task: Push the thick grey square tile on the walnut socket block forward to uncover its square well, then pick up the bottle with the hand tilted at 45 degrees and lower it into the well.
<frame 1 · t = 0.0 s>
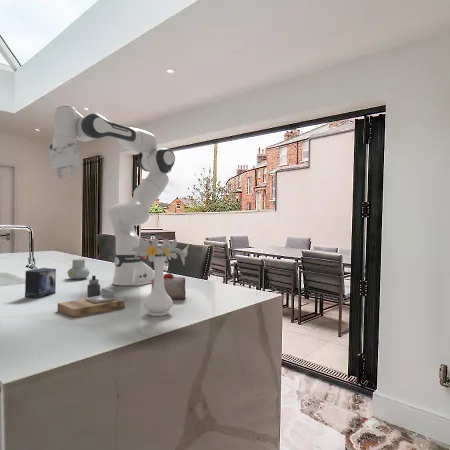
hand: (64, 178, 152), 48 cm above the table, tool pointing down, fingers open, 8 cm apart
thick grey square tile: (100, 295, 126), point 4 cm above the table, slide at 0.0 cm
small box: (40, 296, 146), on the table
bottle: (93, 300, 137), on the table
air freshener: (78, 279, 188), on the table
flower vase: (160, 314, 120), on the table
socket: (94, 308, 125), on the table
food item: (168, 298, 144), on the table
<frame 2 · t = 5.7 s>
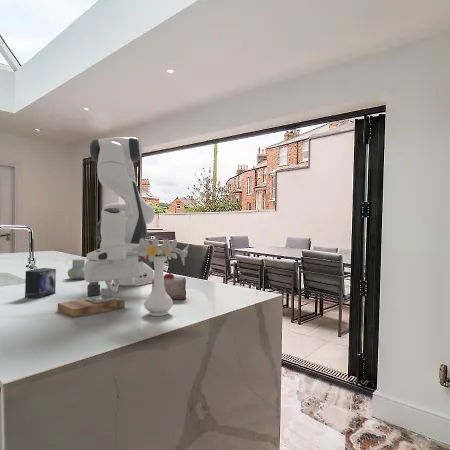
hand: (113, 292, 130), 5 cm above the table, tool pointing down, fingers closed
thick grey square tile: (99, 295, 126), point 4 cm above the table, slide at 0.1 cm, touching gripper
everything else where it was.
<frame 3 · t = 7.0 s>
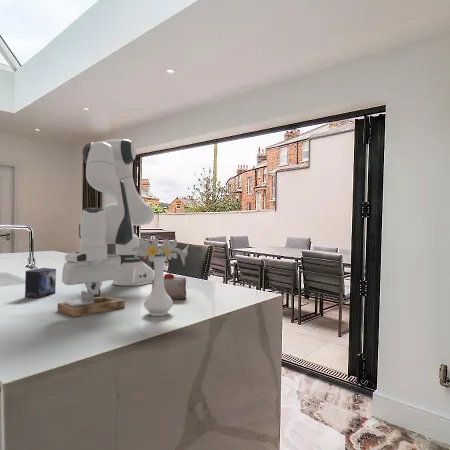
hand: (93, 295, 124), 5 cm above the table, tool pointing down, fingers closed
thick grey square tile: (79, 298, 121), point 4 cm above the table, slide at 7.5 cm, touching gripper
everything else where it was.
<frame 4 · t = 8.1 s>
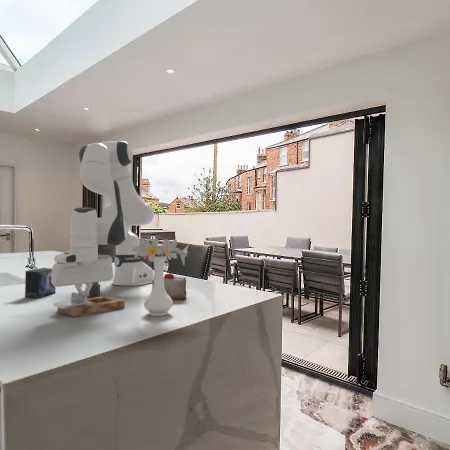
hand: (83, 296, 122), 5 cm above the table, tool pointing down, fingers closed
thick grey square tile: (68, 300, 118), point 4 cm above the table, slide at 10.9 cm, touching gripper
everything else where it was.
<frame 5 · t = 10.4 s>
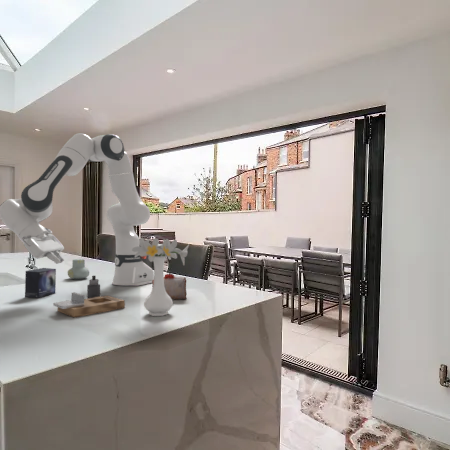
hand: (60, 262, 137), 15 cm above the table, tool tilted 45°, fingers closed
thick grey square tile: (68, 300, 118), point 4 cm above the table, slide at 10.9 cm
everything else where it was.
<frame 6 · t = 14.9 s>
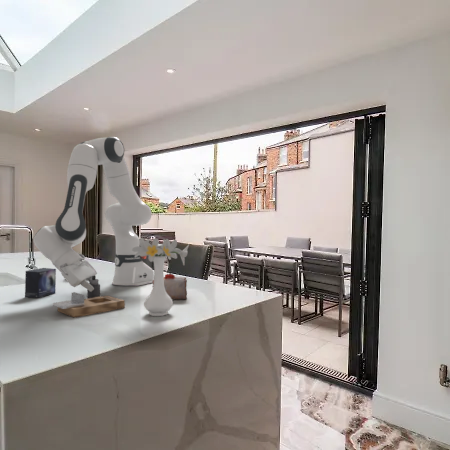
hand: (95, 288, 137), 5 cm above the table, tool tilted 45°, fingers closed on bottle, 4 cm apart
bottle: (93, 300, 137), on the table, touching gripper
everything else where it was.
when the fingers open (7 cm above the table, at t = 20.4 s): bottle drops 1 cm, resting on socket.
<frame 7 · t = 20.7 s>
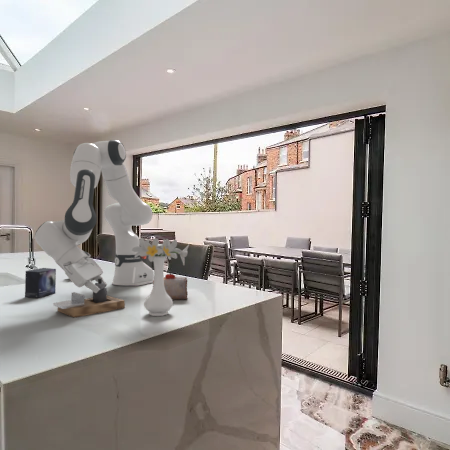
hand: (101, 289, 126), 7 cm above the table, tool tilted 45°, fingers open, 7 cm apart
bottle: (99, 306, 126), point 1 cm above the table, touching socket
everything else where it was.
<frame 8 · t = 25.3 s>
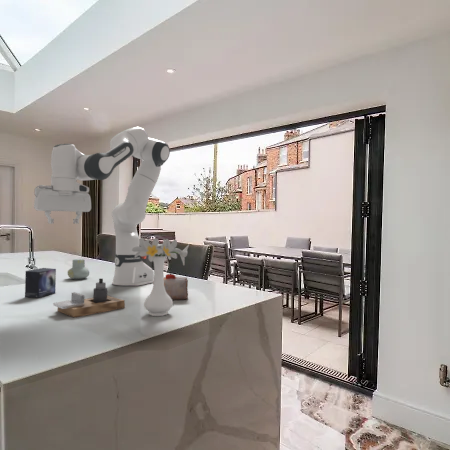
hand: (63, 223, 137), 29 cm above the table, tool pointing down, fingers open, 8 cm apart
at the end: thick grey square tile slide at 10.9 cm; bottle 0.1 cm from the target spot on the socket, point 0.7 cm above the socket's base; the gripper is holding nothing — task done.
